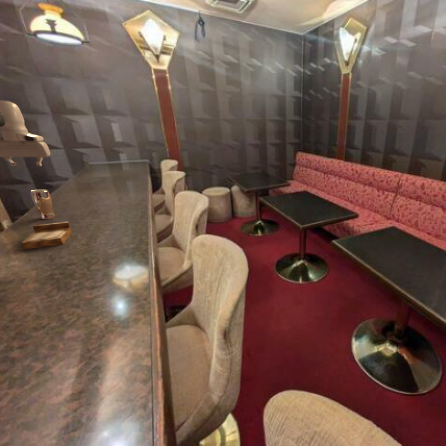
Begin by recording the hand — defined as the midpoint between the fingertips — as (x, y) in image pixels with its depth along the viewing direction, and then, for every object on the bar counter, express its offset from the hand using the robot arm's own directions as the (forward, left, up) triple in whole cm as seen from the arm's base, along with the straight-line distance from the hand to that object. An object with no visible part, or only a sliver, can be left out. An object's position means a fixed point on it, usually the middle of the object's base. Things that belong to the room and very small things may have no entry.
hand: (27, 166), depth 123 cm
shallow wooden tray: (+11, -37, -28) cm, 47 cm away
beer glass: (+1, -1, -28) cm, 28 cm away
